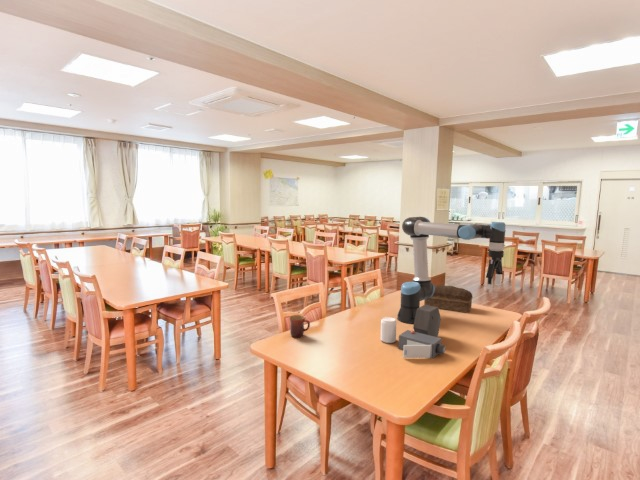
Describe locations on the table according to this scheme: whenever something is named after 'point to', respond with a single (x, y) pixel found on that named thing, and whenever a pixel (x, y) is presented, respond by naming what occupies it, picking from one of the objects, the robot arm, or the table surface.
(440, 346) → the camcorder
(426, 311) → the grey bevelled block
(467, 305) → the bread
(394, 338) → the beverage can
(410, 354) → the door
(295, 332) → the mug
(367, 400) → the table surface
